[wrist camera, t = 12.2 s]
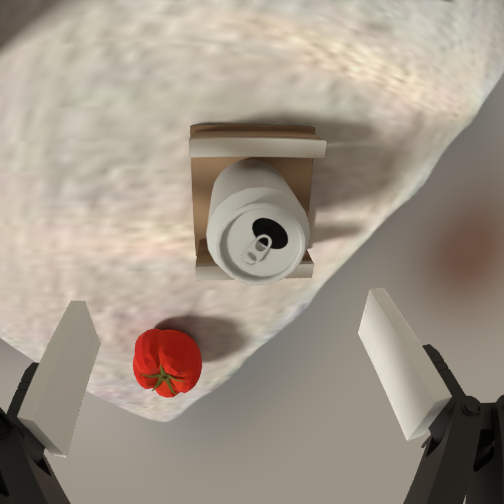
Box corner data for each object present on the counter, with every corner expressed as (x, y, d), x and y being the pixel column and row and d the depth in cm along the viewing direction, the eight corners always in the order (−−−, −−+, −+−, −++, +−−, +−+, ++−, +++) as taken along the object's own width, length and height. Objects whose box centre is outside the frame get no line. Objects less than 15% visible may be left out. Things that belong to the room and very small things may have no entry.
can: (301, 190, 32) (337, 242, 22) (252, 240, 34) (264, 310, 24) (246, 142, 29) (257, 170, 19) (197, 198, 32) (182, 255, 21)
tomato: (213, 351, 43) (213, 392, 37) (165, 370, 45) (159, 410, 38) (173, 306, 39) (166, 348, 33) (124, 330, 41) (111, 371, 34)
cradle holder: (191, 125, 29) (182, 133, 23) (312, 126, 30) (332, 135, 24) (196, 252, 36) (191, 284, 30) (302, 250, 37) (316, 281, 31)
